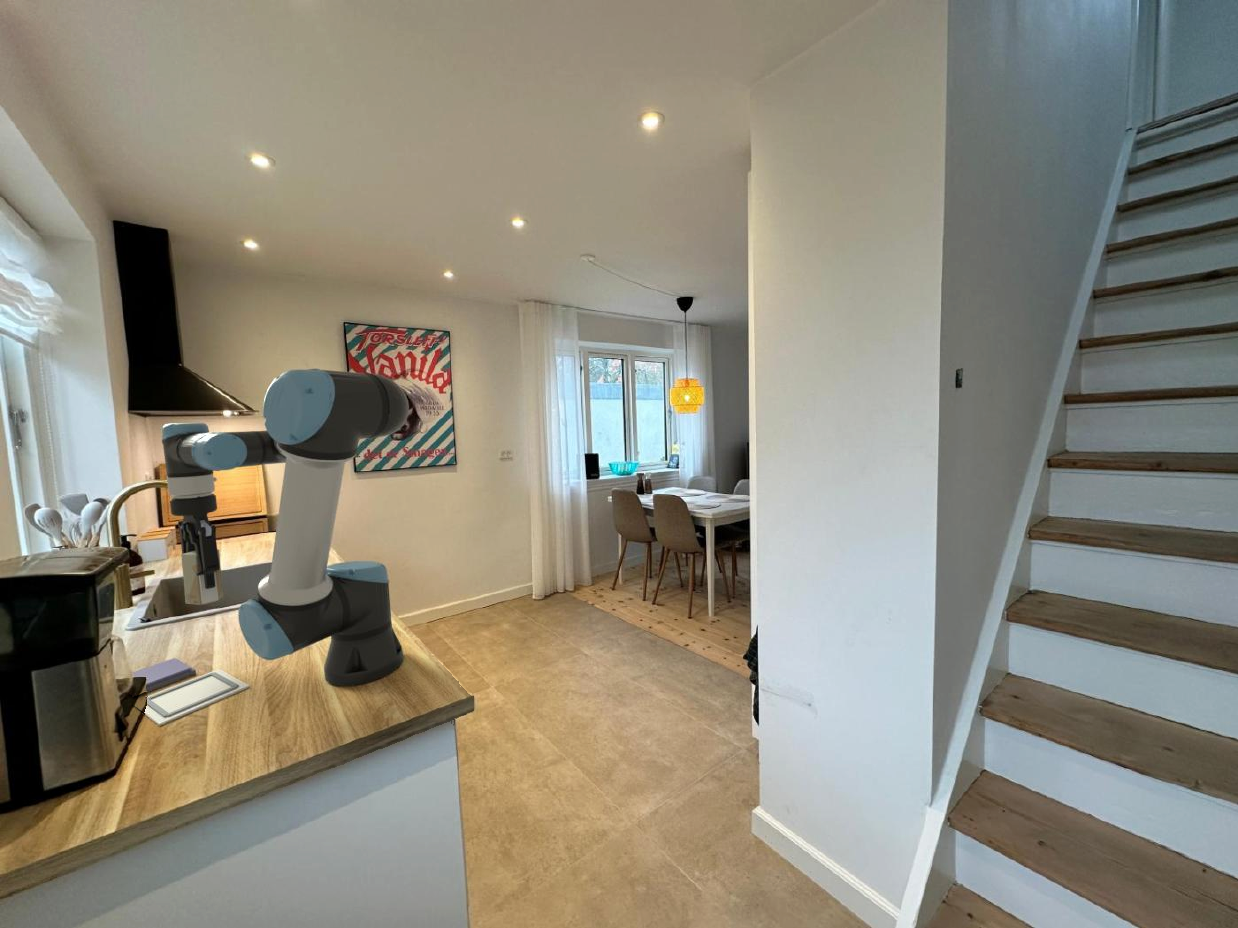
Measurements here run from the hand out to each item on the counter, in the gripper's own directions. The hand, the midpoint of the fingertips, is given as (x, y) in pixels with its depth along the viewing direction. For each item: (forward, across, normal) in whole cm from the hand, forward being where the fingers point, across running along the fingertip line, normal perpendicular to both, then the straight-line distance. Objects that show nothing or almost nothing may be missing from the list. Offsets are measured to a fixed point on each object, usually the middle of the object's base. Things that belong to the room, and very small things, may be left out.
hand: (204, 598), depth 107 cm
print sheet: (+15, -12, +7) cm, 20 cm away
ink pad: (+15, +3, +8) cm, 18 cm away
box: (+1, 0, 0) cm, 1 cm away
